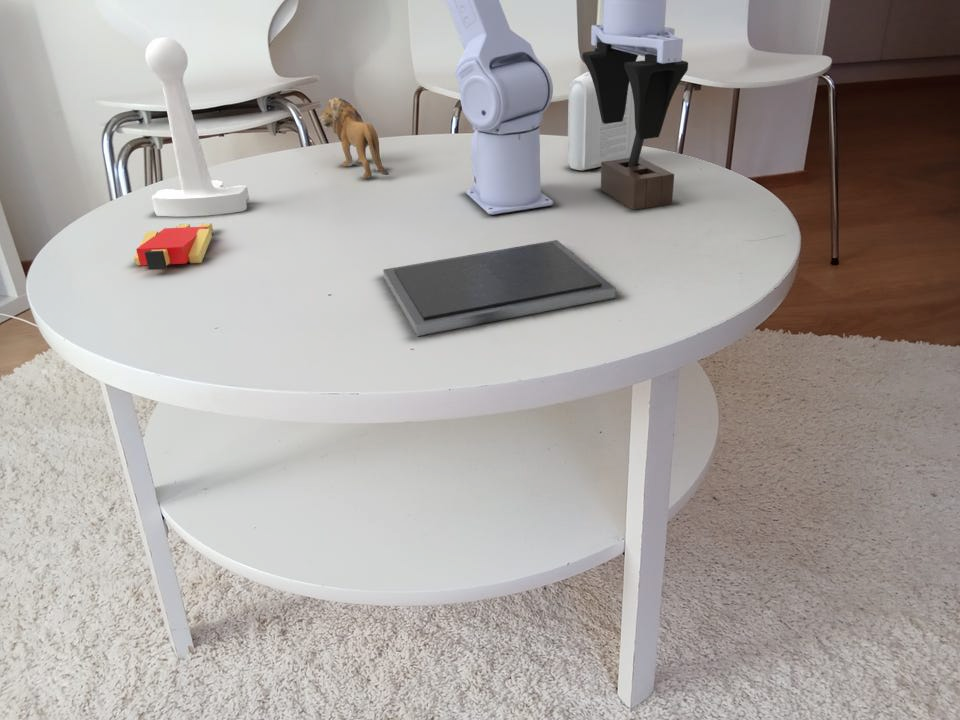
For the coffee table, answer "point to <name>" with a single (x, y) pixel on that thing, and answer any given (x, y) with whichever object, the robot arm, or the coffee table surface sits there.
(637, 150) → the stylus
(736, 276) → the coffee table surface
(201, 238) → the toy figure
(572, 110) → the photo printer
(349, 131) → the lion figurine
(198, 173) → the joystick
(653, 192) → the holder
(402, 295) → the tablet
